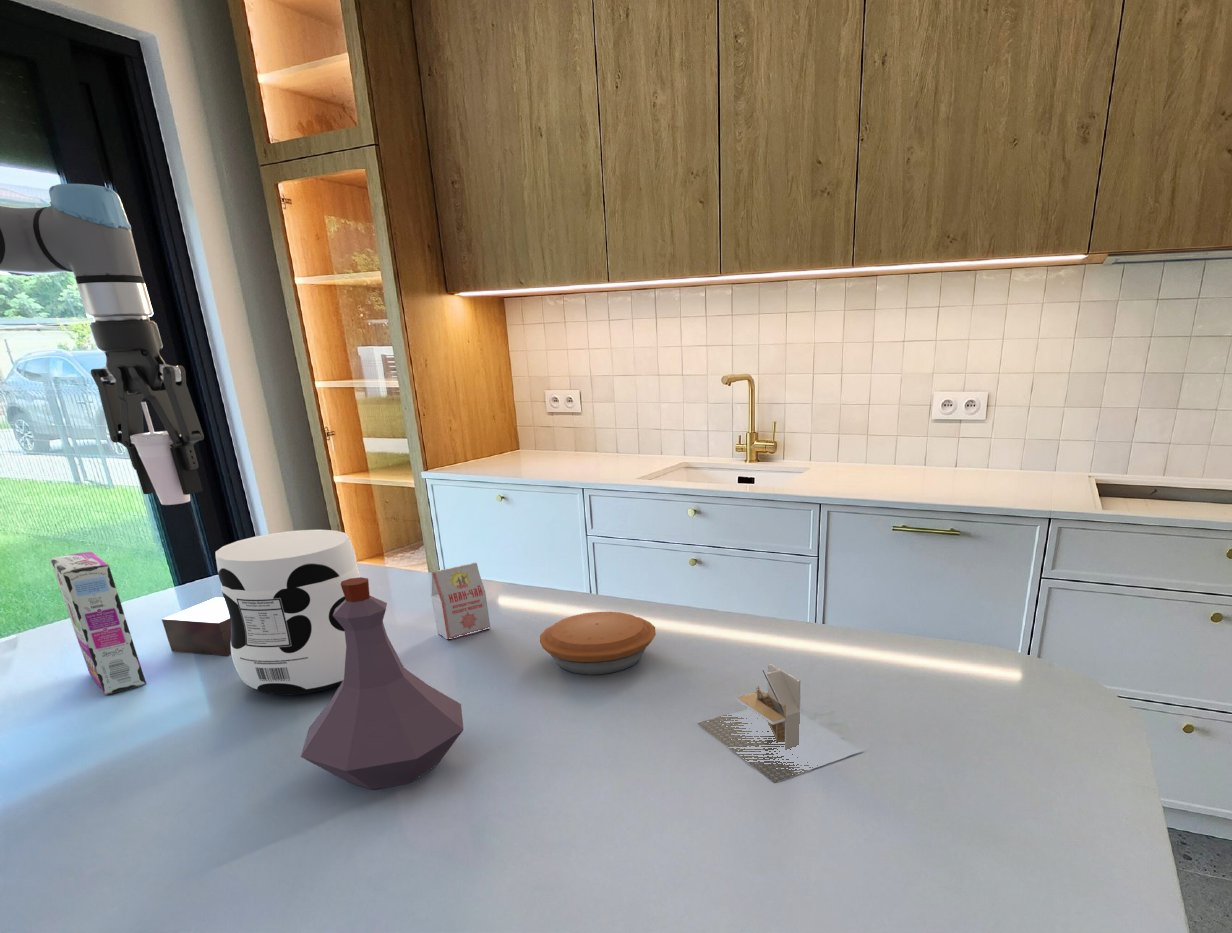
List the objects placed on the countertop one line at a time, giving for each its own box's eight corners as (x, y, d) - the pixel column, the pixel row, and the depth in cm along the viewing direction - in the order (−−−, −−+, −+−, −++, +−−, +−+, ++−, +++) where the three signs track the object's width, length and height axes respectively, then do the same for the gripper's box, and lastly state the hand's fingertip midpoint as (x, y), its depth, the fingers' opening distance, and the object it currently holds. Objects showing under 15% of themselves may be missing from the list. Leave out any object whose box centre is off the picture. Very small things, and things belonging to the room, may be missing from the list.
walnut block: (171, 651, 115) (161, 619, 113) (225, 627, 123) (216, 596, 121) (227, 656, 112) (218, 623, 110) (278, 631, 121) (270, 600, 119)
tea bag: (437, 634, 118) (426, 569, 114) (479, 623, 121) (470, 560, 118) (447, 640, 115) (436, 574, 111) (490, 629, 119) (481, 565, 115)
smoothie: (139, 506, 113) (107, 404, 107) (175, 497, 119) (147, 399, 113) (176, 507, 111) (146, 403, 106) (211, 497, 117) (184, 399, 112)
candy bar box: (150, 684, 104) (110, 564, 97) (104, 697, 100) (60, 573, 94) (131, 662, 111) (92, 549, 105) (88, 673, 108) (46, 556, 101)
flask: (287, 763, 83) (238, 582, 75) (436, 714, 93) (406, 548, 85) (337, 831, 72) (285, 624, 64) (501, 767, 81) (474, 580, 73)
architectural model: (773, 754, 82) (774, 689, 79) (737, 727, 87) (736, 666, 84) (800, 745, 83) (801, 681, 80) (762, 719, 89) (763, 659, 86)
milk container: (367, 643, 115) (342, 521, 108) (400, 681, 102) (374, 545, 95) (234, 673, 106) (197, 542, 99) (251, 720, 93) (210, 573, 86)
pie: (524, 679, 101) (520, 643, 99) (564, 635, 115) (560, 603, 113) (641, 685, 99) (639, 647, 97) (667, 639, 113) (665, 606, 111)
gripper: (204, 316, 106) (248, 488, 115) (91, 322, 111) (142, 486, 120) (156, 316, 100) (207, 498, 109) (38, 322, 104) (97, 497, 113)
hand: (173, 492), depth 114 cm, fingers closed on smoothie, 6 cm apart
